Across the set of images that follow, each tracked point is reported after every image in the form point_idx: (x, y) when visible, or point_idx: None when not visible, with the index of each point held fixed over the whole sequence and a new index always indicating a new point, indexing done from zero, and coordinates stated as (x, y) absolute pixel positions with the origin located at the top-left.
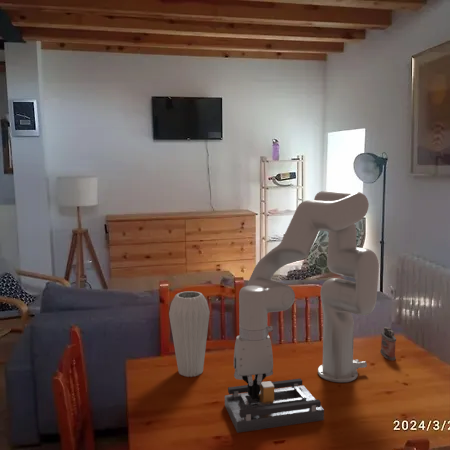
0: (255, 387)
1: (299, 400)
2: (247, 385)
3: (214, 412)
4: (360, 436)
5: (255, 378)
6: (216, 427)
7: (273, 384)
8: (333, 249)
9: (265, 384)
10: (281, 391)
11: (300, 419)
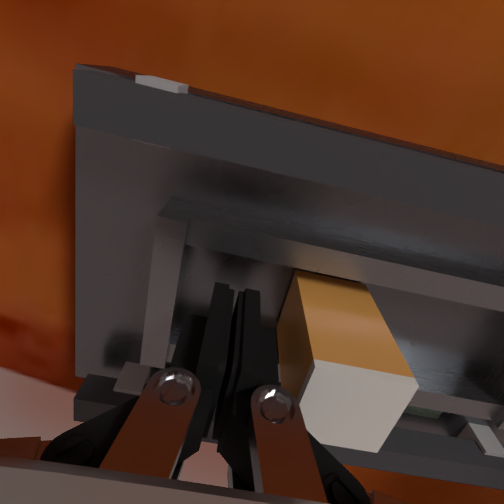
0: (214, 425)
1: (469, 412)
2: (280, 132)
3: (22, 120)
4: (486, 498)
5: (247, 436)
6: (11, 263)
7: (499, 224)
8: None
9: (330, 412)
10: (471, 303)
11: None
